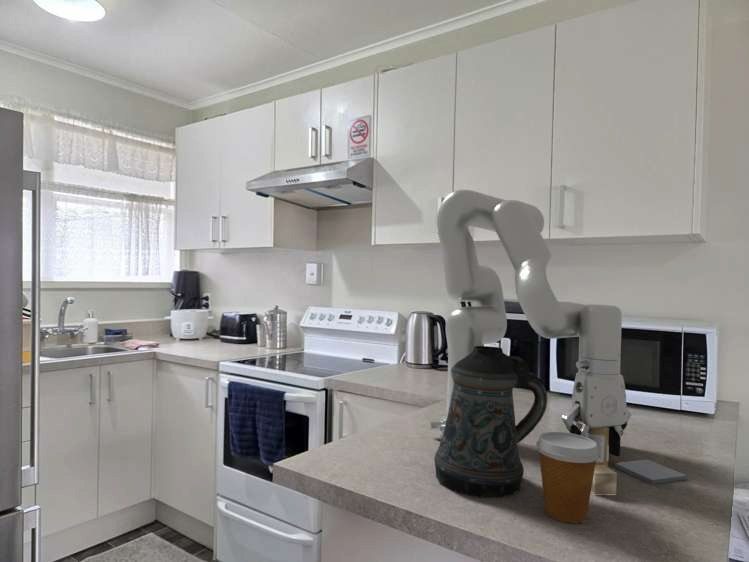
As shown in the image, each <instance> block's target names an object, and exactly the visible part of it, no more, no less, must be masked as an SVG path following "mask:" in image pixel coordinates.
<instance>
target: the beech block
mask: <svg viewBox="0 0 749 562" xmlns="http://www.w3.org/2000/svg"><path fill="white" fill-rule="evenodd" d="M617 475H618V473H617V472H616V471H614V470H613V469H611V468H610V467H609V466H608V467H607V466H605V465H595V470H594V476H593V482H592V488H591V491H592V492H593V493H594V494H604V495H603V496H608V495H607V494H616V495H617V484H618V483H617V481H618V480H617V479H618V477H617ZM593 493H592V494H593ZM594 494H593V495H594ZM605 494H606V495H605Z"/></svg>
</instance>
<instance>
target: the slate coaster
mask: <svg viewBox="0 0 749 562" xmlns="http://www.w3.org/2000/svg"><path fill="white" fill-rule="evenodd" d="M614 468H616V469H618V470H621V471H622V470H623V471H622V472H625V473H627V474H629V475H631V474H632V476H633V475H634V476H633V477H636V478H639V479H640V478H641V479H640V480H642V479H643V480H642V481H644V480H645V482H646V483H649V484H651V485H656V484H658V483H659V484H666V483H670V482H677V481H678V482H679V481H687V480H688V475H687V474H684V473H681V472H679V471H676V470H674V469H672V468H669V467H667V466H664V465H662V464H659V463H658V462H654V461H652V460H650V459H640V460H631V461H621V462H616V463H614Z"/></svg>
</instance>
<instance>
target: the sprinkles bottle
mask: <svg viewBox="0 0 749 562" xmlns="http://www.w3.org/2000/svg"><path fill="white" fill-rule="evenodd" d="M585 437H587V438H589V439H591V440H593V441H595V442H596V444H597V449H598V450H599V452H600V455H599V456H598V459H597V460H596V464H595V465H605V466H607V467H608V468H609V466H608V460H609V427H601V428H591V427H590V428H589V430H588V432H587V434H586V436H585Z"/></svg>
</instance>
